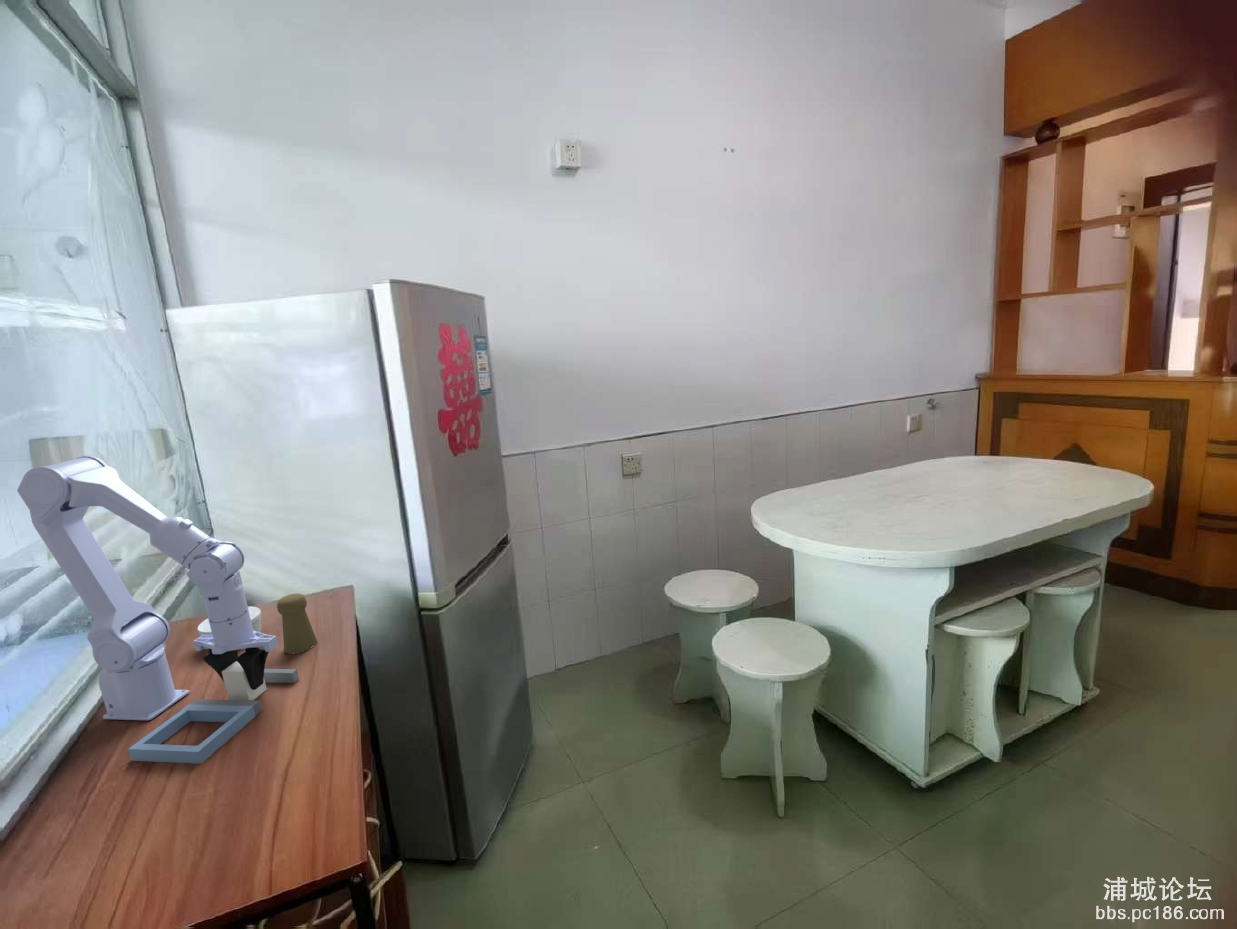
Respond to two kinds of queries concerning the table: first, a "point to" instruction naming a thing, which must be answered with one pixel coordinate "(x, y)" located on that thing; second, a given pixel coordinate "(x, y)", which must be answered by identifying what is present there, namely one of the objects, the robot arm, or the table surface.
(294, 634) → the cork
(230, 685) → the cream white block
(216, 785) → the table surface
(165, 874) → the table surface
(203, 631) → the ramekin
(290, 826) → the table surface
